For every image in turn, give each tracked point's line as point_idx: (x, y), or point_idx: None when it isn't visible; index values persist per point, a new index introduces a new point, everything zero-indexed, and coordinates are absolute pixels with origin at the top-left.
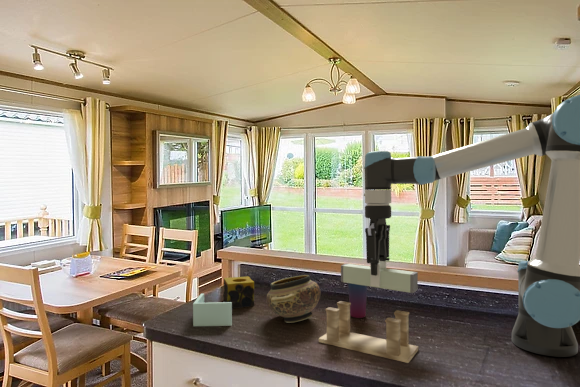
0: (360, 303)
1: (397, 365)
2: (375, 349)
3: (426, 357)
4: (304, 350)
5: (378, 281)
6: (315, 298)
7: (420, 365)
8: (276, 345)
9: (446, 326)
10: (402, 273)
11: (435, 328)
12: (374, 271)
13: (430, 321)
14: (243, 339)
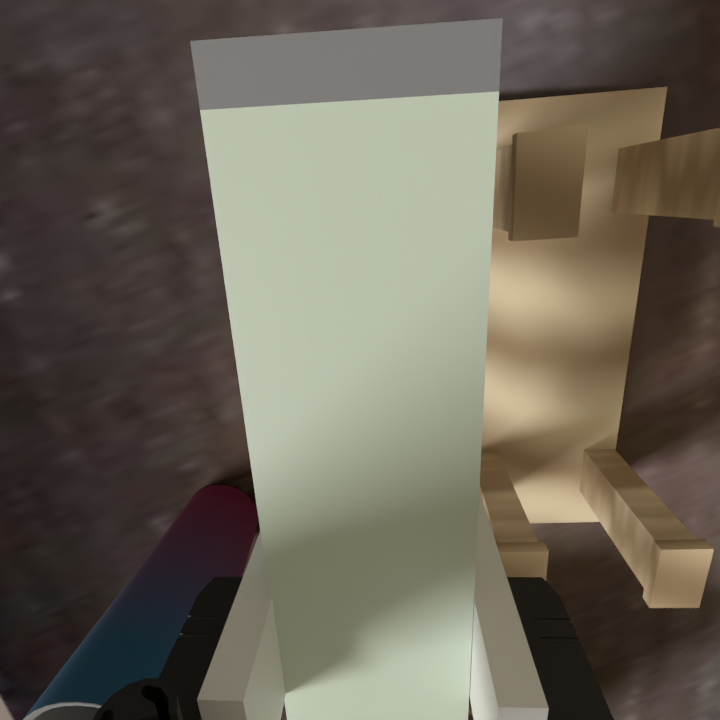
0: (223, 544)
1: (702, 129)
2: (618, 276)
3: (540, 33)
4: (704, 514)
5: (481, 509)
6: (468, 717)
7: (655, 24)
8: (700, 606)
9: (33, 91)
10: (488, 261)
11: (110, 137)
12: (571, 637)
13: (27, 200)
14: (695, 704)
